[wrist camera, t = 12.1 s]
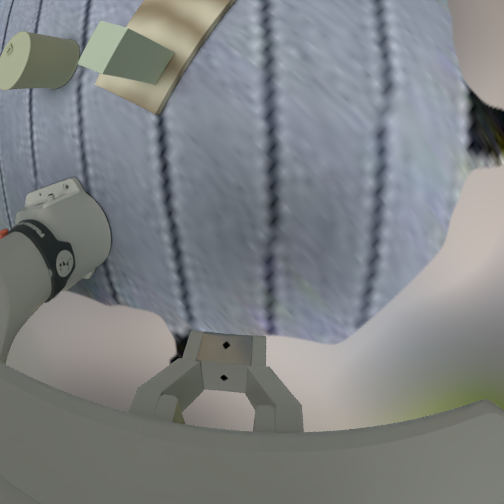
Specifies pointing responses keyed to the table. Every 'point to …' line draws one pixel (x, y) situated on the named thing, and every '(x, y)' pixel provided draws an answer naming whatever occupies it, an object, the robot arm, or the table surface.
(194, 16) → the wooden board
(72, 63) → the can
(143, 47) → the sage key
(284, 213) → the table surface
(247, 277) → the table surface
